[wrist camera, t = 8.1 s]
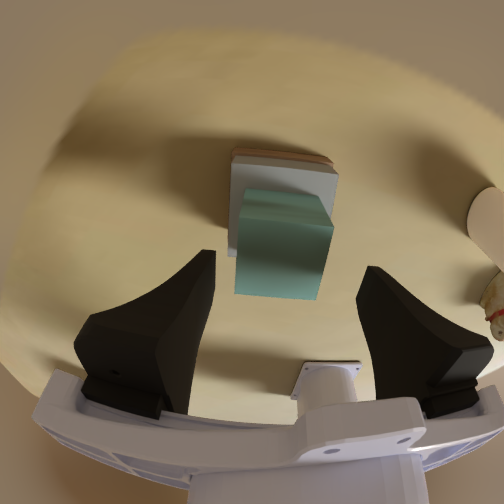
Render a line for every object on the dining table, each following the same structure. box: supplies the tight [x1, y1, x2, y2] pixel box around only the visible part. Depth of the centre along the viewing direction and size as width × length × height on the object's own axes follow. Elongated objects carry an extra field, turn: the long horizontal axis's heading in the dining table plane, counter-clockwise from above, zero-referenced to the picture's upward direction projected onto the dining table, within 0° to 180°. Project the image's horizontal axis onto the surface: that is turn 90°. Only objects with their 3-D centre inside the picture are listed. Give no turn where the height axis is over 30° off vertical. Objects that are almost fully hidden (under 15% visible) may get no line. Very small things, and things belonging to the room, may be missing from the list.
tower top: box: [228, 155, 339, 257], centre depth 19 cm, size 6×6×2 cm
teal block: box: [235, 188, 334, 300], centre depth 16 cm, size 4×4×4 cm
